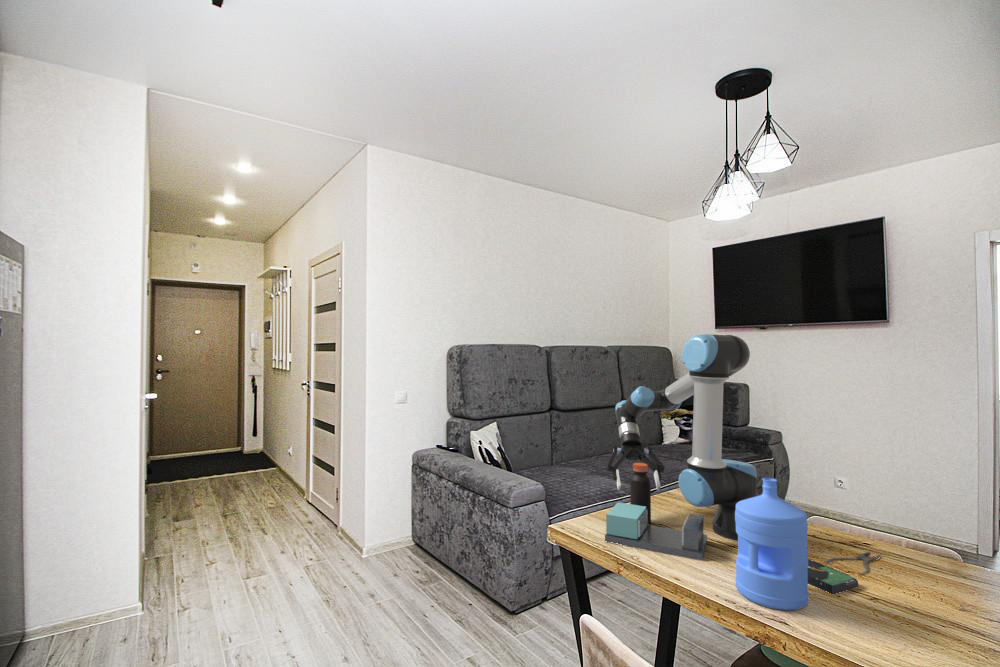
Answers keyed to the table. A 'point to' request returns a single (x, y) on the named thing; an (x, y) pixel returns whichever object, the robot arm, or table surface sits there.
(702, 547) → the vise base
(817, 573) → the disk drive
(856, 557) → the pliers
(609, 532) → the block
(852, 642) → the table surface
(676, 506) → the table surface
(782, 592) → the water jug
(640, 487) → the vinegar
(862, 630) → the table surface
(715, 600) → the table surface
